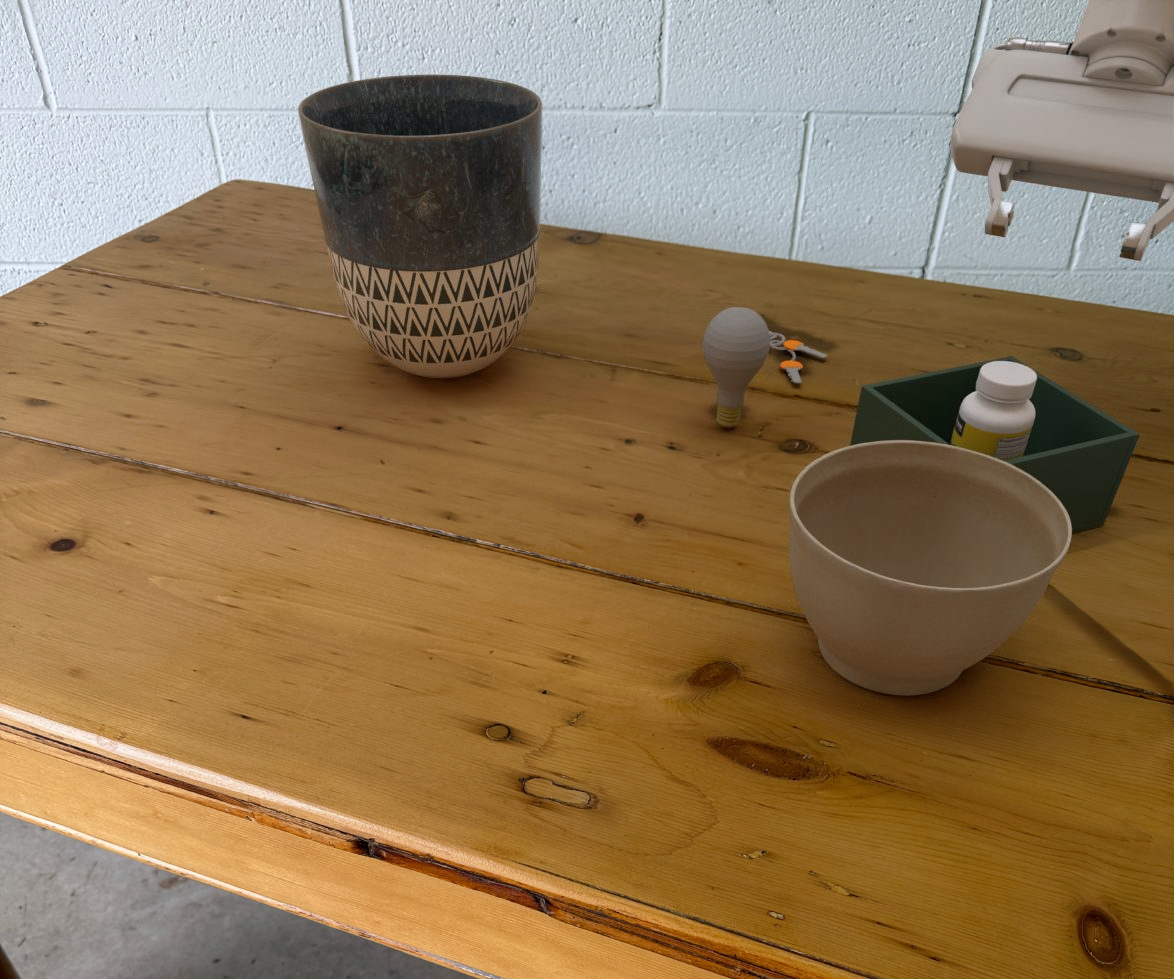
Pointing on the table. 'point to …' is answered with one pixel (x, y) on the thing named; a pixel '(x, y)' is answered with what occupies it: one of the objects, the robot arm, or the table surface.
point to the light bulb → (734, 357)
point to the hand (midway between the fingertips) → (1061, 243)
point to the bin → (1054, 449)
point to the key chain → (791, 346)
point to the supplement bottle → (997, 412)
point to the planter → (430, 213)
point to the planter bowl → (919, 558)
